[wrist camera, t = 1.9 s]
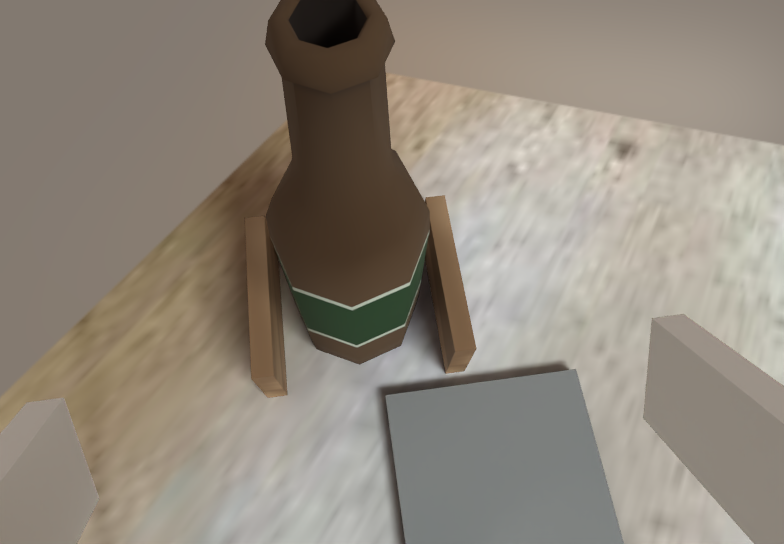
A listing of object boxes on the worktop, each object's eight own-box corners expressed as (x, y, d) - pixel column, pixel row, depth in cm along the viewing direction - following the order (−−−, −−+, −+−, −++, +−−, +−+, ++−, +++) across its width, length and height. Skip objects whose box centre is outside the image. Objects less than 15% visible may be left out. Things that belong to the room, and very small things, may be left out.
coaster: (571, 372, 36) (575, 369, 36) (629, 583, 32) (635, 585, 31) (385, 397, 36) (385, 395, 35) (415, 619, 31) (416, 621, 30)
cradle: (434, 218, 41) (441, 179, 36) (464, 371, 36) (476, 348, 32) (259, 238, 40) (243, 200, 35) (268, 397, 35) (251, 378, 31)
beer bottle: (412, 254, 40) (453, -81, 18) (420, 364, 36) (481, 122, 14) (300, 259, 39) (198, -77, 17) (298, 370, 36) (171, 131, 14)
